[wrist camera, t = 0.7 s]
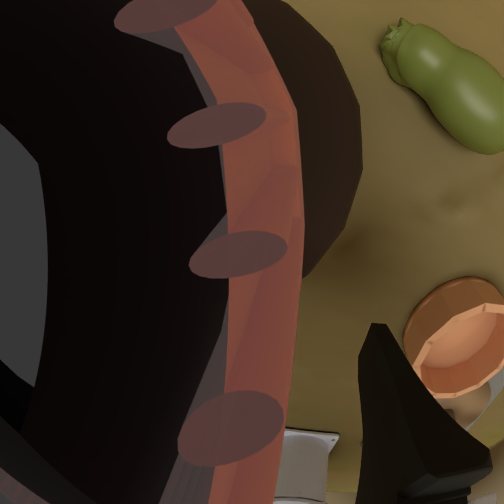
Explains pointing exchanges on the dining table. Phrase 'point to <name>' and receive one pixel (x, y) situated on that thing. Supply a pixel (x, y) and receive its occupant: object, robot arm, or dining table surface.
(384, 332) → the robot arm
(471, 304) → the bowl
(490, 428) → the dining table surface
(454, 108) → the pear
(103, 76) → the bottle
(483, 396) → the lid
